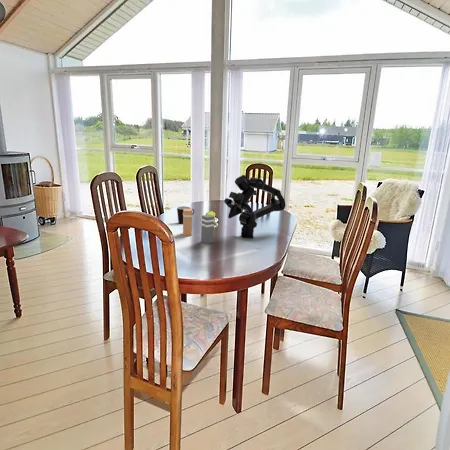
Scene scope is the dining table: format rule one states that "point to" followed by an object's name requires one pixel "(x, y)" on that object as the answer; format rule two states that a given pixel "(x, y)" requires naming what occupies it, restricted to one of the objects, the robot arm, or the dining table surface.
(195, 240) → the dining table surface
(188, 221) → the post one band
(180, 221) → the coffee mug
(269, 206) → the robot arm
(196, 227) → the dining table surface
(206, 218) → the post two bands
